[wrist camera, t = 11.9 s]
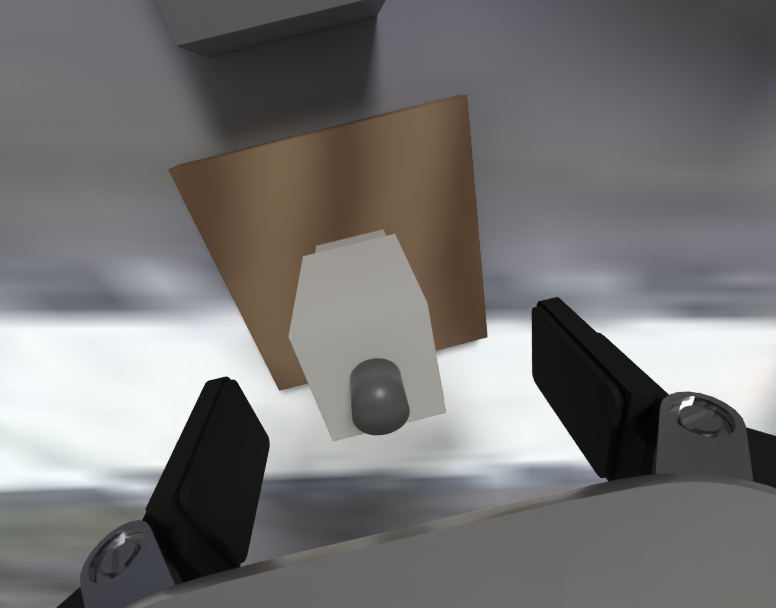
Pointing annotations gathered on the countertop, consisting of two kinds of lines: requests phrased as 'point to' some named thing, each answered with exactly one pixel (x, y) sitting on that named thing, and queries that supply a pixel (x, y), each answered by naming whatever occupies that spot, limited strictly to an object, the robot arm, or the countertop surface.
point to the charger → (365, 337)
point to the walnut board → (344, 217)
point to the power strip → (254, 20)
